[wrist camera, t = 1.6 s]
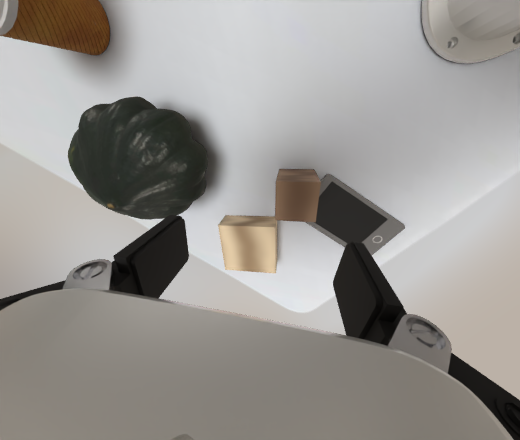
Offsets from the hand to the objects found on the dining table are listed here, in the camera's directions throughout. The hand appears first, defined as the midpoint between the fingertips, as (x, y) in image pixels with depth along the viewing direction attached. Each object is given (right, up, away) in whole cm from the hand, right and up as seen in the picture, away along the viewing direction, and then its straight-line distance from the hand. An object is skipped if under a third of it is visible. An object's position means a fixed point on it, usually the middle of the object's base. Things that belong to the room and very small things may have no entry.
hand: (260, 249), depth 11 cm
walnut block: (+5, +7, +17) cm, 20 cm away
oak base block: (-1, -1, +23) cm, 23 cm away
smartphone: (+14, +2, +19) cm, 24 cm away
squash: (-13, +12, +18) cm, 26 cm away
